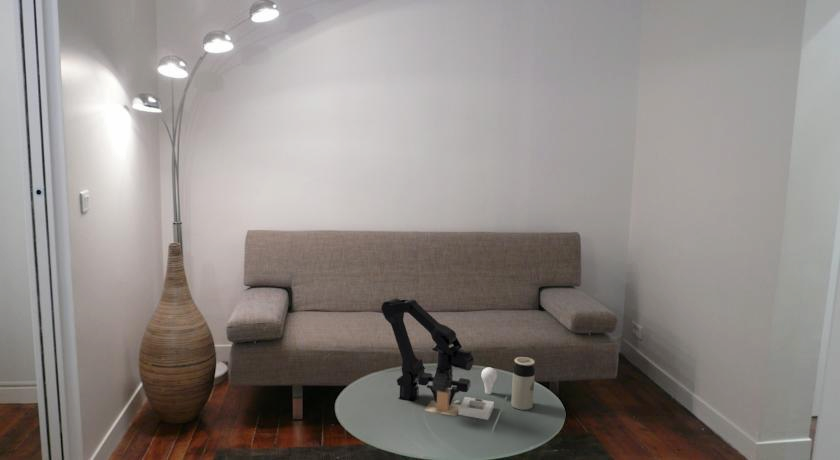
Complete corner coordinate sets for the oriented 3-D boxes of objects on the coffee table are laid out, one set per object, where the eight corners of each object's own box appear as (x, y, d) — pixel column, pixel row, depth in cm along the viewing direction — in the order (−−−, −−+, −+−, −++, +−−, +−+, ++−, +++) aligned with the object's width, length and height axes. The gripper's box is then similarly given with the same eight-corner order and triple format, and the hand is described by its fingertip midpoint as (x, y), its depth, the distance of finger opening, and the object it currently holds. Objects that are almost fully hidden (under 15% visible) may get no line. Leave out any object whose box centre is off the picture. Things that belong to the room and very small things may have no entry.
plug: (436, 409, 221) (437, 390, 220) (439, 404, 225) (440, 386, 224) (447, 411, 220) (447, 392, 219) (449, 406, 224) (450, 387, 223)
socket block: (458, 416, 218) (458, 406, 217) (464, 404, 227) (465, 395, 227) (488, 421, 215) (488, 411, 214) (493, 409, 224) (493, 400, 223)
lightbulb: (495, 398, 233) (496, 371, 231) (479, 396, 234) (480, 370, 232) (496, 392, 239) (497, 365, 237) (481, 390, 240) (482, 364, 238)
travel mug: (507, 405, 227) (509, 360, 224) (518, 399, 233) (521, 355, 230) (524, 412, 222) (527, 366, 219) (536, 405, 228) (539, 360, 225)
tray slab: (424, 411, 220) (424, 410, 220) (431, 401, 229) (431, 400, 229) (455, 417, 217) (455, 416, 216) (461, 406, 225) (461, 405, 225)
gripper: (413, 368, 215) (412, 408, 217) (464, 376, 209) (462, 417, 212) (423, 357, 225) (421, 396, 228) (471, 364, 220) (469, 404, 222)
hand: (443, 403), depth 222 cm, fingers open, 5 cm apart
